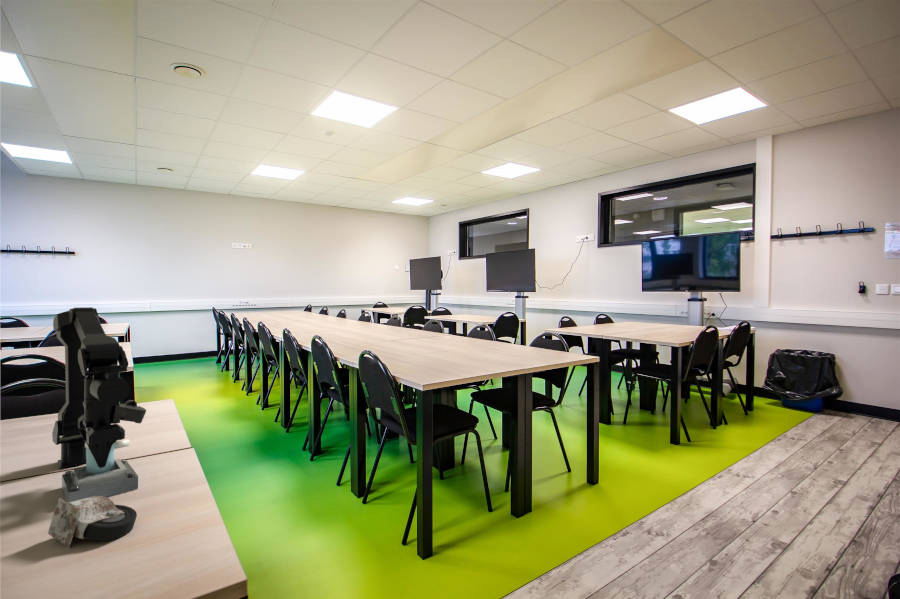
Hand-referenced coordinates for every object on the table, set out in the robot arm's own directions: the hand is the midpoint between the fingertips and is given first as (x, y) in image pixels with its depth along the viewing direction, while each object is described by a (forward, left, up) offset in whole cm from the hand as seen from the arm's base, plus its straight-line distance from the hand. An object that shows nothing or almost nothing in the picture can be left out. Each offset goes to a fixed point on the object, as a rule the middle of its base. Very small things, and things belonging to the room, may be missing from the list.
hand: (100, 464), depth 98 cm
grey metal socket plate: (0, 0, -6) cm, 6 cm away
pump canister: (0, +1, -1) cm, 2 cm away
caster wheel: (+23, -3, -6) cm, 24 cm away
